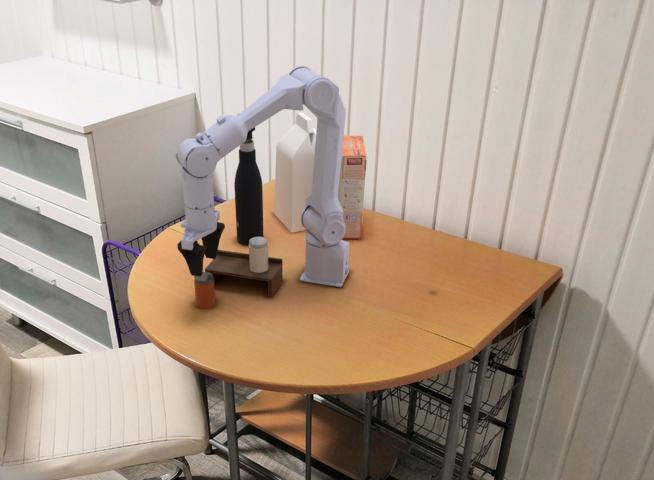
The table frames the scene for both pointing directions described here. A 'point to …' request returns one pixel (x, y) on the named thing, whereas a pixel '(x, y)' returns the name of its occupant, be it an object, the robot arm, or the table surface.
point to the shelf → (246, 269)
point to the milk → (294, 172)
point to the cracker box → (352, 184)
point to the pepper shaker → (204, 290)
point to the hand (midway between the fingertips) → (203, 266)
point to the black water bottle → (248, 194)
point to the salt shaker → (258, 254)
